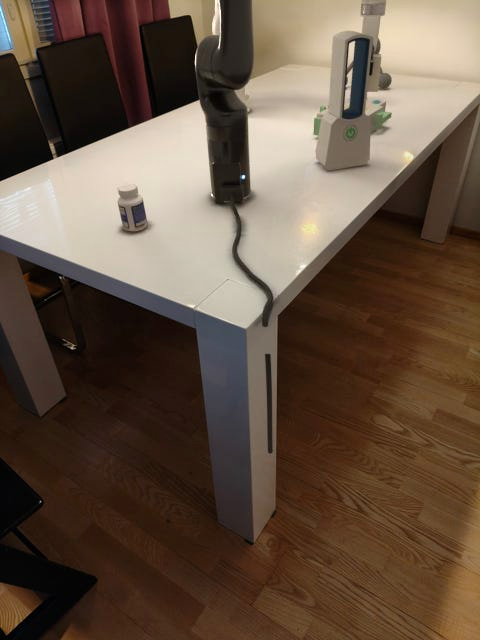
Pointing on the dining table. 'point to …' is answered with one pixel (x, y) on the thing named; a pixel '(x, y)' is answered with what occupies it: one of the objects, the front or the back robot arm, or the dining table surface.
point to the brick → (374, 74)
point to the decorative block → (373, 111)
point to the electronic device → (352, 123)
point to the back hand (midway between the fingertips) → (366, 72)
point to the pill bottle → (131, 208)
